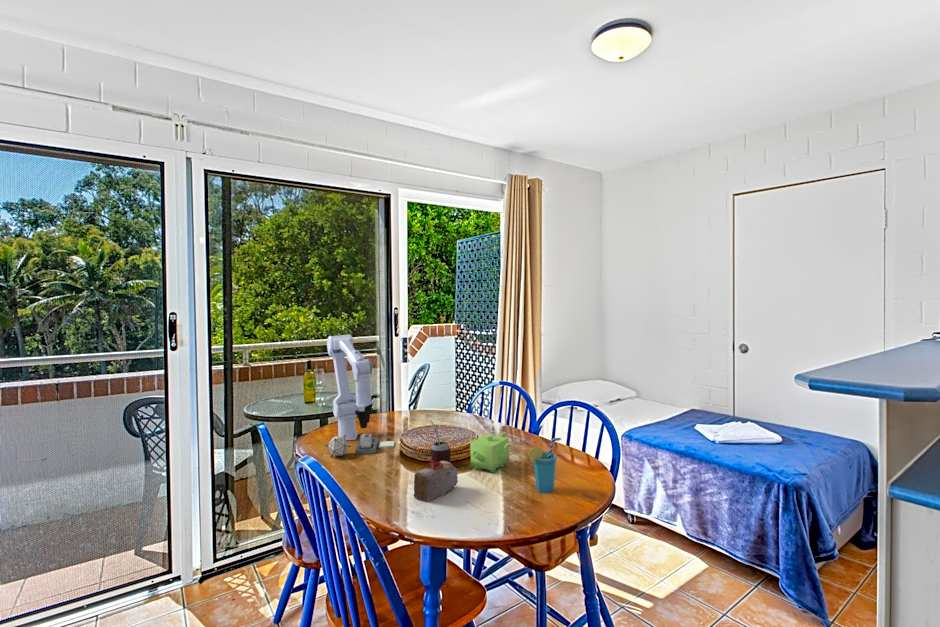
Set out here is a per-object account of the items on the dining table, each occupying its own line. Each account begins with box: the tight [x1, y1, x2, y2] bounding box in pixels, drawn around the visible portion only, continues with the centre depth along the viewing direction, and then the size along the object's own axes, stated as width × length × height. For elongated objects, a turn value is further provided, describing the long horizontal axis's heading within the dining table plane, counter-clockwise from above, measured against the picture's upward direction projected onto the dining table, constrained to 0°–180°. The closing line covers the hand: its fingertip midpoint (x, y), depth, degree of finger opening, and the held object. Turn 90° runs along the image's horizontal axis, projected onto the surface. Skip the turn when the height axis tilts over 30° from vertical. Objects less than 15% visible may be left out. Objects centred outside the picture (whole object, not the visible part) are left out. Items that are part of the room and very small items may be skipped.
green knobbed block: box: [468, 431, 514, 473], centre depth 172 cm, size 15×14×11 cm
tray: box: [378, 440, 396, 449], centre depth 200 cm, size 6×6×1 cm
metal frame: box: [354, 436, 380, 456], centre depth 197 cm, size 15×8×2 cm, turn 6°
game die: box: [324, 434, 352, 458], centre depth 188 cm, size 9×8×10 cm
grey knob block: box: [359, 432, 373, 449], centre depth 194 cm, size 4×4×7 cm
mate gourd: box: [430, 420, 452, 463], centre depth 175 cm, size 8×8×15 cm
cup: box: [526, 437, 562, 494], centre depth 152 cm, size 14×8×15 cm, turn 132°
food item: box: [413, 461, 459, 503], centre depth 152 cm, size 14×8×10 cm, turn 143°
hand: (365, 425), depth 193 cm, fingers open, 7 cm apart
